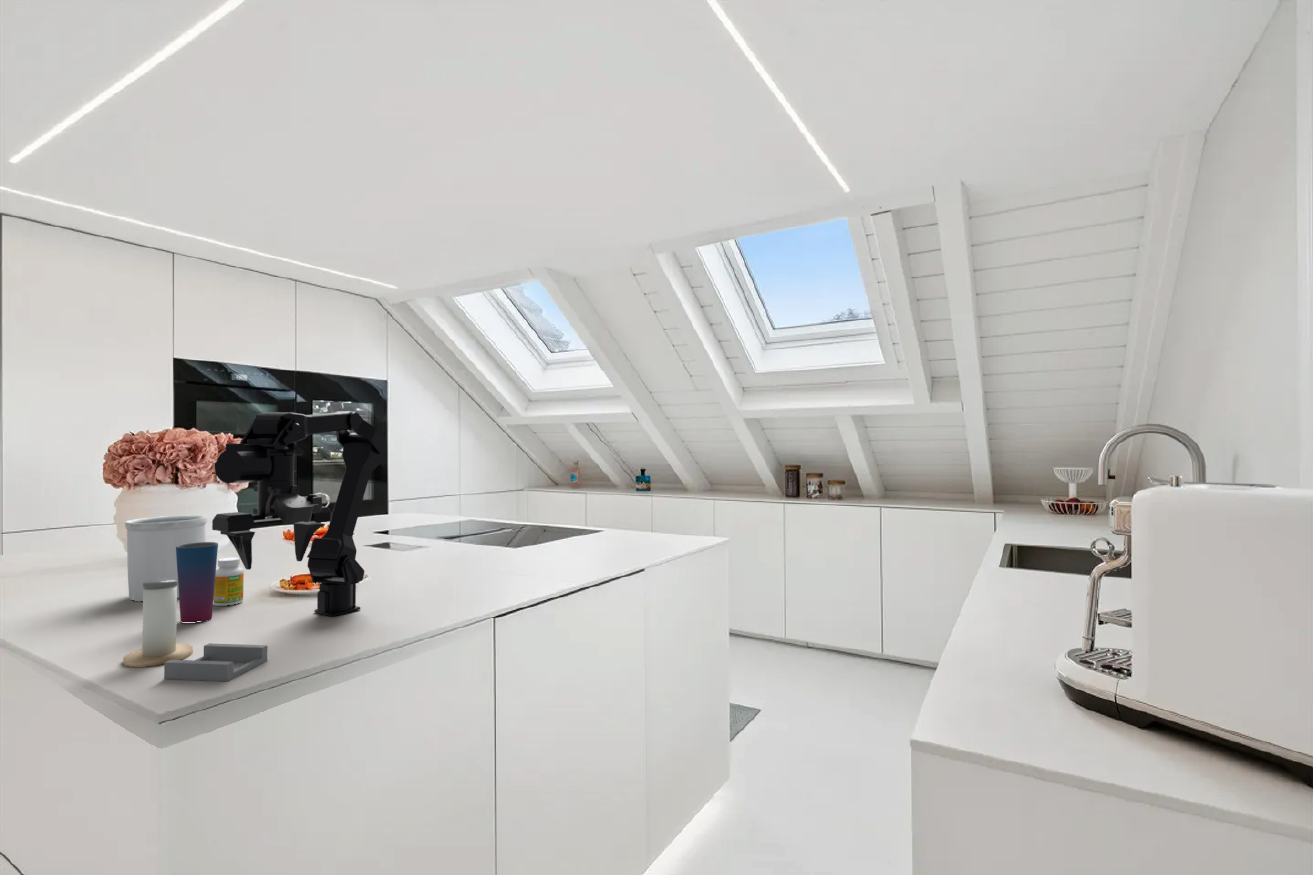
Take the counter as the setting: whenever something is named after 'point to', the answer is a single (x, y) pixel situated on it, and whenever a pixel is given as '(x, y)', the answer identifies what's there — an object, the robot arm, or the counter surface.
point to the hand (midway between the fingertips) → (274, 565)
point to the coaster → (140, 661)
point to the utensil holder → (158, 547)
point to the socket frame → (217, 662)
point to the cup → (196, 579)
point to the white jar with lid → (159, 617)
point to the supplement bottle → (228, 582)
